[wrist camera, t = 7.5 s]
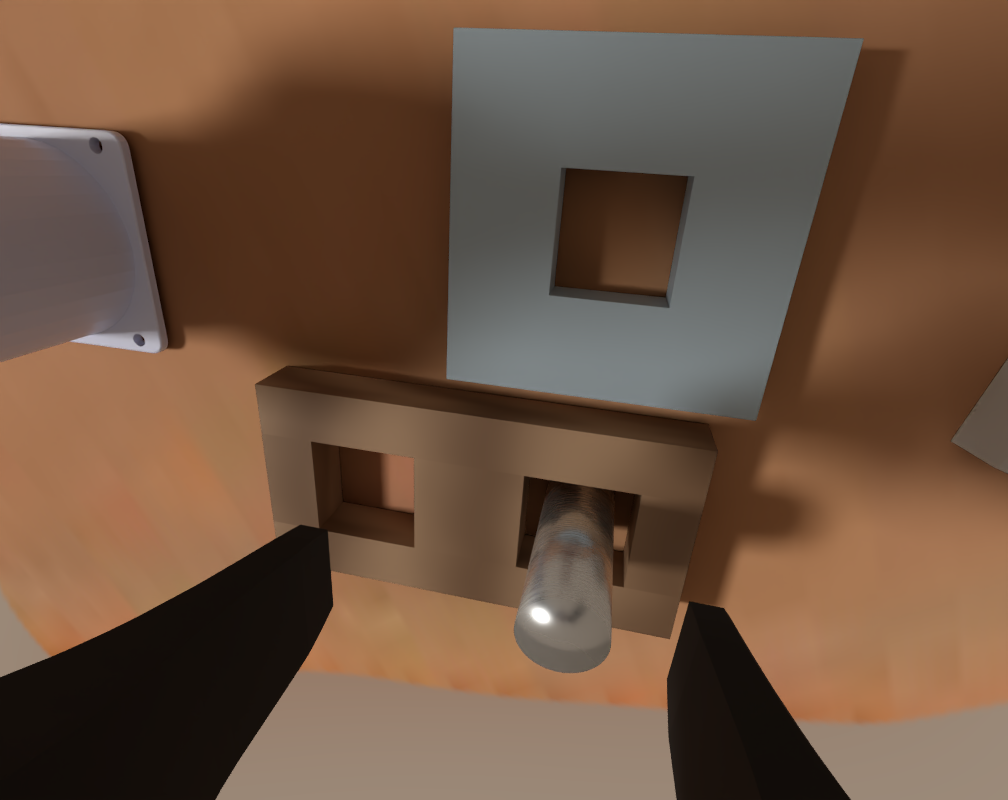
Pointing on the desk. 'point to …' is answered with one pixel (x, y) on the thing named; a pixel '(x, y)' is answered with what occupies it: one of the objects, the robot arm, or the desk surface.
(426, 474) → the rack
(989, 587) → the desk surface
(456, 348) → the socket block
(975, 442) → the grey arched plastic casing
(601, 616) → the peg
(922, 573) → the desk surface
